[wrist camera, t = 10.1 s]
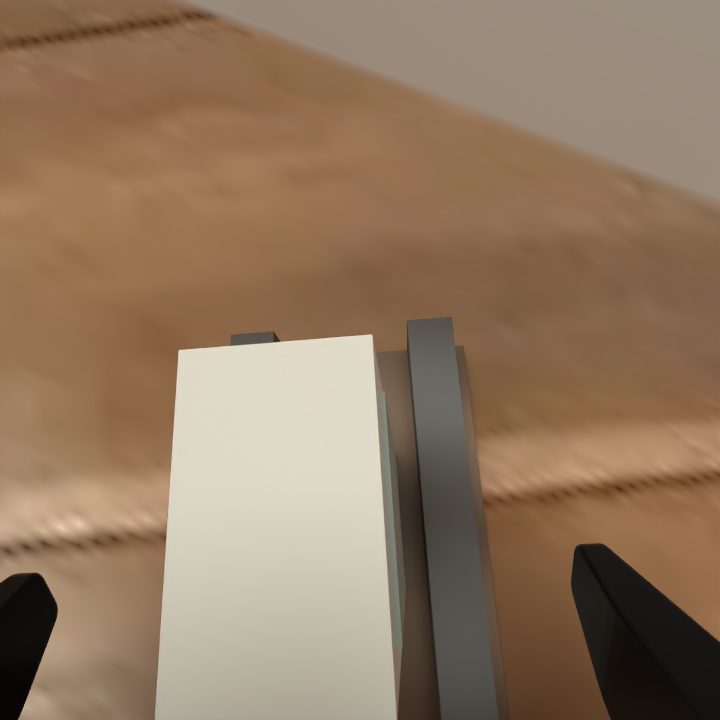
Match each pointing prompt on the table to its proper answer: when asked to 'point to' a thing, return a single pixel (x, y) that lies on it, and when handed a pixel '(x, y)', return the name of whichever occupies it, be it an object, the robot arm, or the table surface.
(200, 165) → the table surface
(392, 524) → the cream slab
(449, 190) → the table surface
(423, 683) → the display ledge
